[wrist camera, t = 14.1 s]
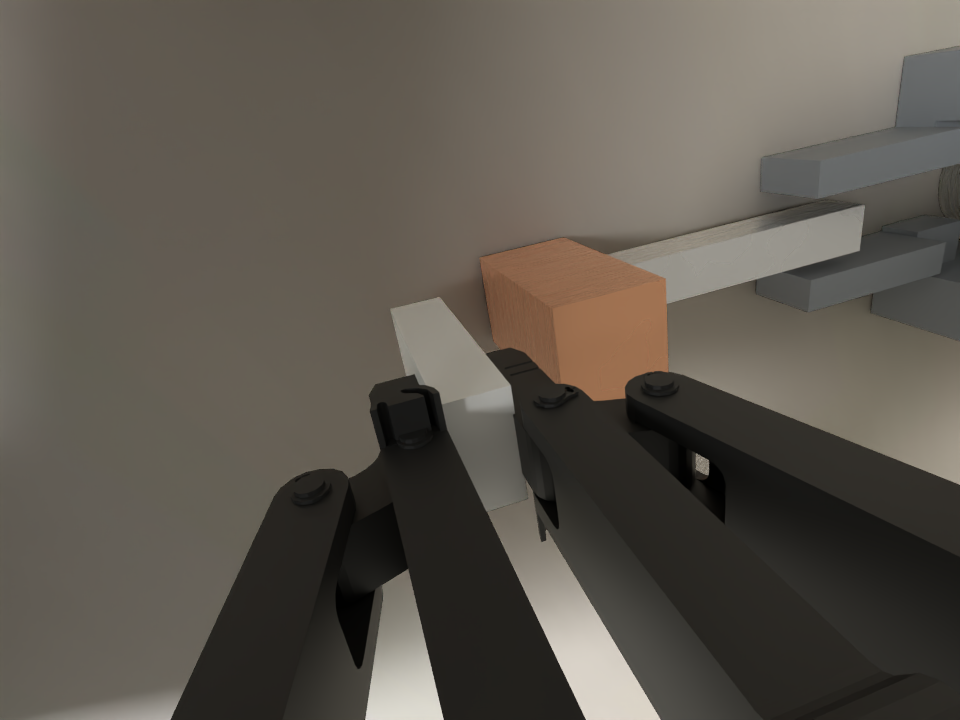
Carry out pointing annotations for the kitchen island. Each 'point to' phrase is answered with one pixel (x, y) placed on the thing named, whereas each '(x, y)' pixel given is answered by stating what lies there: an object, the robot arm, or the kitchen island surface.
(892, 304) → the mount
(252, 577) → the robot arm
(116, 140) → the kitchen island surface
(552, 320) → the pin
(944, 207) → the grey cylinder
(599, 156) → the kitchen island surface
